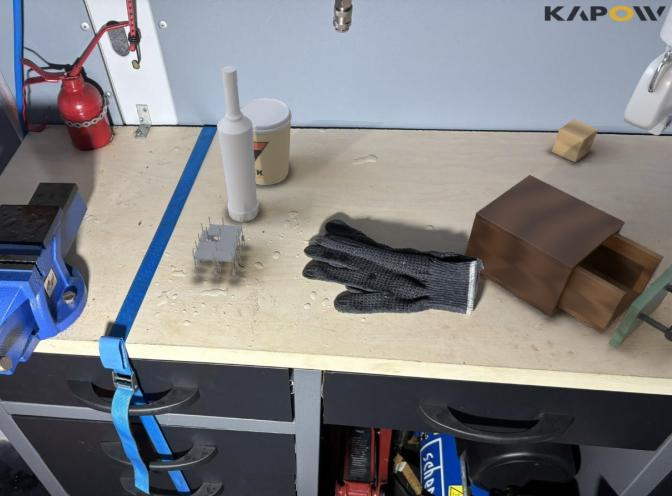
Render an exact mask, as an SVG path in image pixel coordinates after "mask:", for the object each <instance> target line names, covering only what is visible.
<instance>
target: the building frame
mask: <svg viewBox="0 0 672 496" xmlns="http://www.w3.org/2000/svg"><path fill="white" fill-rule="evenodd" d="M240 220H241V219H240ZM221 221H222V224H215V223H211V218H210V216H208V223H209V226H208V227H207V226H205V227H204V226H203V222H200V225H201V233H200V232H197V237H198V243H197V240H194V244H195V252H194V249H191V252H192V258H193V262H194V273H195V274H196V279H197V280H199V279H200V278H199V271H201V270H203V266H202V261H203V263H205V262H206V261H207V264H210V261H211V262H213V265H214V267H213V271H214V272H213V275H214V277H215V279H217V281H219V280H220V279H219V272H222V268H221V267H222V266H221V265H223V262H227V263H232V274H231V275H232V278H233V282H236V283H237V282H238V281H237V280H238V279H237V278H235V277H237V273H240V270H239V269H240V268H239V266H240V265H242V261H241V259H243V258H244V255H241V253H243V248H246V239H245V235H244V232H243V222H240V225H231V224H230V225H229V224H225V221H224V216H222V217H221ZM203 227H204V228H203ZM204 229H205V230H204ZM199 233H200V234H199ZM197 265H198V266H197ZM216 266H217V267H216ZM236 268H237V269H236Z"/></svg>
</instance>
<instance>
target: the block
mask: <svg viewBox="0 0 672 496" xmlns="http://www.w3.org/2000/svg"><path fill="white" fill-rule="evenodd" d="M598 131H599V129H598V128H596V127H593V126H591V125H589V124H588V123H587V124H586V123H584V122H582V121H580V120H578V119H577V120H576V119H572V120H571V121H569V122H567V123H566V124H565V125H563V126H562V127H560V128H559V129H558V132H557V135H556V138H555V140H554V144H553V146H552V149H551V153H553V154H555V155H558V156H560V157H562V158H564V159H566V160H569V161H570V162H573V163H576V162H578V161H579V160H580V159H582V158H583V157H585V156H586V155H588V153H590V151H591V149H592V146H593V143H594V141H595V138H596V137H597V134H598Z"/></svg>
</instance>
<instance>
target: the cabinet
mask: <svg viewBox="0 0 672 496" xmlns="http://www.w3.org/2000/svg"><path fill="white" fill-rule="evenodd" d="M625 223H626V222H625V221H624V220H622V219H620V218H618V217H617V216H613V215H612V214H609V213H608V212H605V211H604V210H602V209H599V208H597V207H596V206H594V205H592V204H589V203H588V202H585V201H584V200H581V199H579V198H577V197H575V196H574V195H572V194H569V193H568V192H565V191H564V190H562V189H559V188H557V187H556V186H554V185H551V184H550V183H547V182H545V181H543V180H541V179H540V178H538V177H535V176H533V175H531V174H529V175H527V176H525V177H524V178H523V179H521V180H520V181H518V182H517V183H516V184H514V185H513V186H512V187H510V188H509V189H507V190H506V191H505V192H503V193H502V194H500V195H499V196H497V197H496V198H494V200H492V201H491V202H489V203H487V204H486V205H485V206H484V207H482V208H480V209H479V210H478V211H476V212H475V216H474V218H473V223H472V226H471V230H470V234H469V238H468V241H467V246H466V249H465V253H464V256H469V257H473V258H479V259H481V260H482V263H483V266H484V270H483V269H481V271H480V273H479V274H481V275H482V276H484V277H485V278H487V279H488V280H490V281H492V282H493V283H495V284H496V285H498V286H499V287H501V288H502V289H504V290H506V291H507V292H509V293H511V294H512V295H514V296H516V297H517V298H519V299H520V300H521V301H523V302H525V303H527V304H528V305H530V306H532V307H533V308H535V309H536V310H538V311H539V312H541V313H542V314H544V315H546V316H547V317H549V318H550V317H552V316H553V315H554V314H555V313H557V312H558V310H559V309H561V308H560V307H558V306H557V305H558V303H559V300H560V298H561V296H562V294H563V292H564V289H565V287H566V285H567V283H568V281H569V279H570V276H571V274H572V272H573V270H574V268H575V267H576V266H578V265H579V264H580V263H581V262H582V261H583V260H585V259H586V258H587V257H588V256H589V255H590V254H592V253H593V252H594V251H595V250H596V249H597V248H598V247H600V246H601V245H602V244H603V243H604V242H605V241H607V240H608V239H609V238H610V237H611V236H612V235H614V234H615V233H616V232H617V233H618V234H620V233H621V231H622V230H623V227H624V225H625Z"/></svg>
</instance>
